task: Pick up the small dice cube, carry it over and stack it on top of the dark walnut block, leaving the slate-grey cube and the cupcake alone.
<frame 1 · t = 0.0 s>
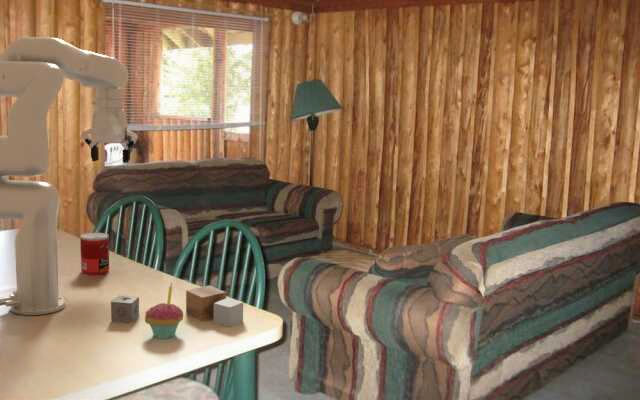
hand: (110, 161, 211), 31 cm above the table, tool pointing down, fingers open, 9 cm apart
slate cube: (228, 322, 167), on the table
walnut block: (206, 314, 172), on the table
canned food: (95, 272, 205), on the table
cupcake: (164, 335, 158), on the table
dice cube: (125, 319, 167), on the table
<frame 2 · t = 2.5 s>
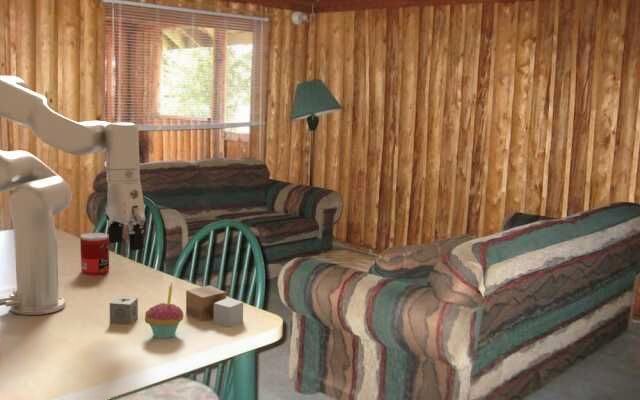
hand: (125, 246, 167), 17 cm above the table, tool pointing down, fingers open, 9 cm apart
nothing on the table moved.
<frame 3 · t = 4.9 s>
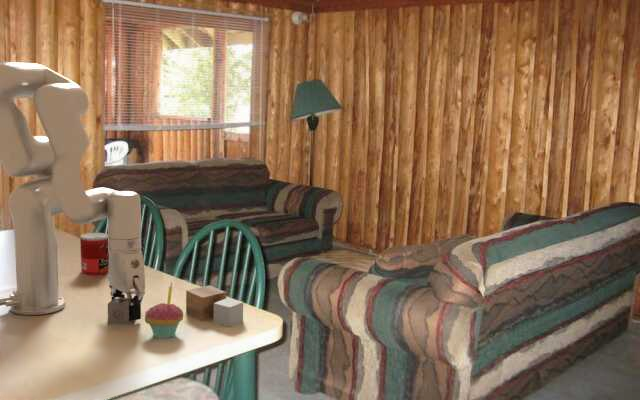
hand: (126, 315, 167), 1 cm above the table, tool pointing down, fingers open, 7 cm apart
dice cube: (122, 322, 166), on the table, touching gripper
everything else where it was.
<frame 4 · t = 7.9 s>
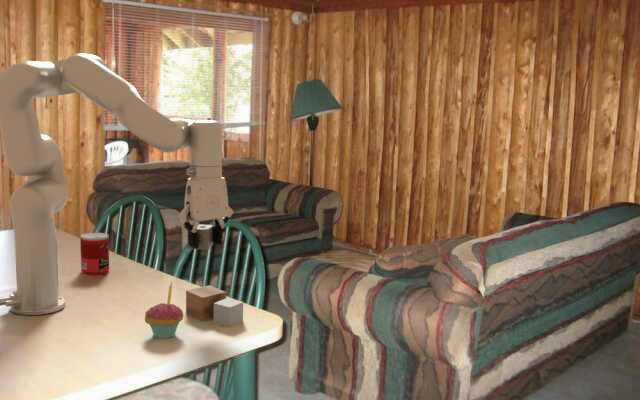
hand: (205, 244, 169), 18 cm above the table, tool pointing down, fingers closed on dice cube, 6 cm apart
dice cube: (200, 247, 170), point 17 cm above the table, touching gripper
everything else where it was.
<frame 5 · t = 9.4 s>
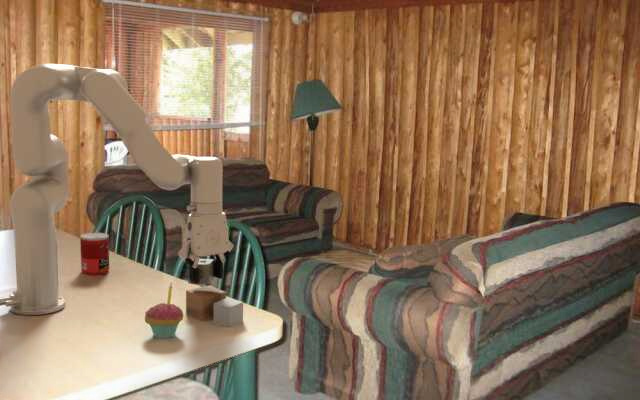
hand: (206, 279, 171), 9 cm above the table, tool pointing down, fingers closed on dice cube, 6 cm apart
dice cube: (201, 281, 172), point 8 cm above the table, touching gripper
everything else where it was.
when the fingers open (7 cm above the table, at t = 10.6 s): dice cube moves 1 cm, resting on walnut block.
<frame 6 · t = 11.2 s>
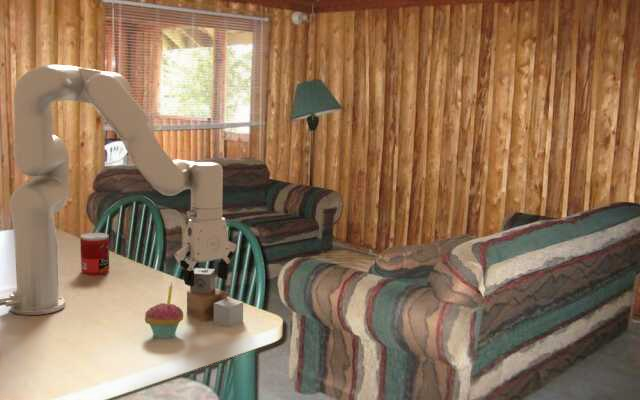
hand: (206, 281, 171), 8 cm above the table, tool pointing down, fingers open, 9 cm apart
walnut block: (206, 315, 172), on the table, touching dice cube
dice cube: (202, 291, 172), point 6 cm above the table, touching walnut block
everything else where it was.
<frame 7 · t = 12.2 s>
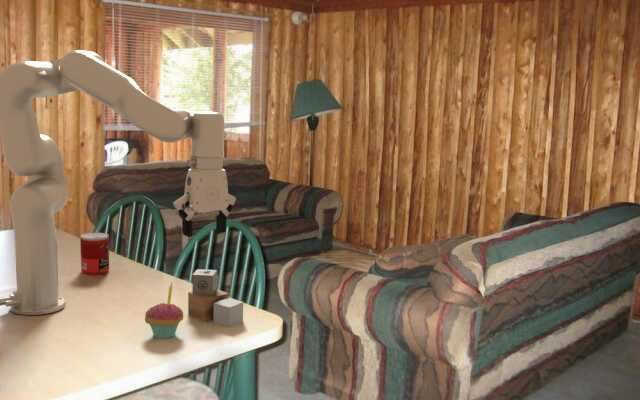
hand: (204, 233, 169), 20 cm above the table, tool pointing down, fingers open, 9 cm apart
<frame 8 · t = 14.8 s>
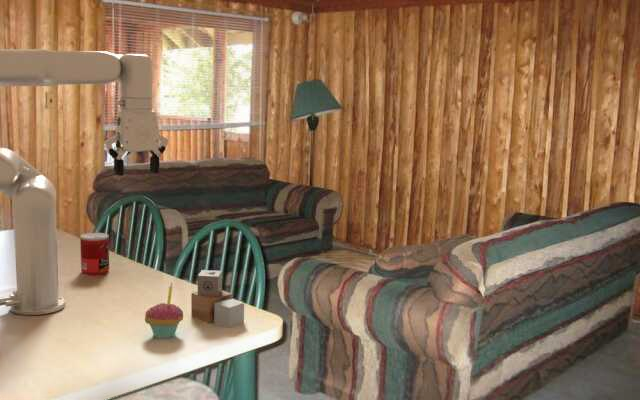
hand: (137, 173, 175), 33 cm above the table, tool pointing down, fingers open, 9 cm apart
walnut block: (211, 316, 171), on the table, touching dice cube
dice cube: (209, 293, 170), point 6 cm above the table, touching walnut block
everything else where it was.
at the end: dice cube 0.6 cm from the walnut block (horizontally); dice cube point 5.6 cm above the table; dice cube touching walnut block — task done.
